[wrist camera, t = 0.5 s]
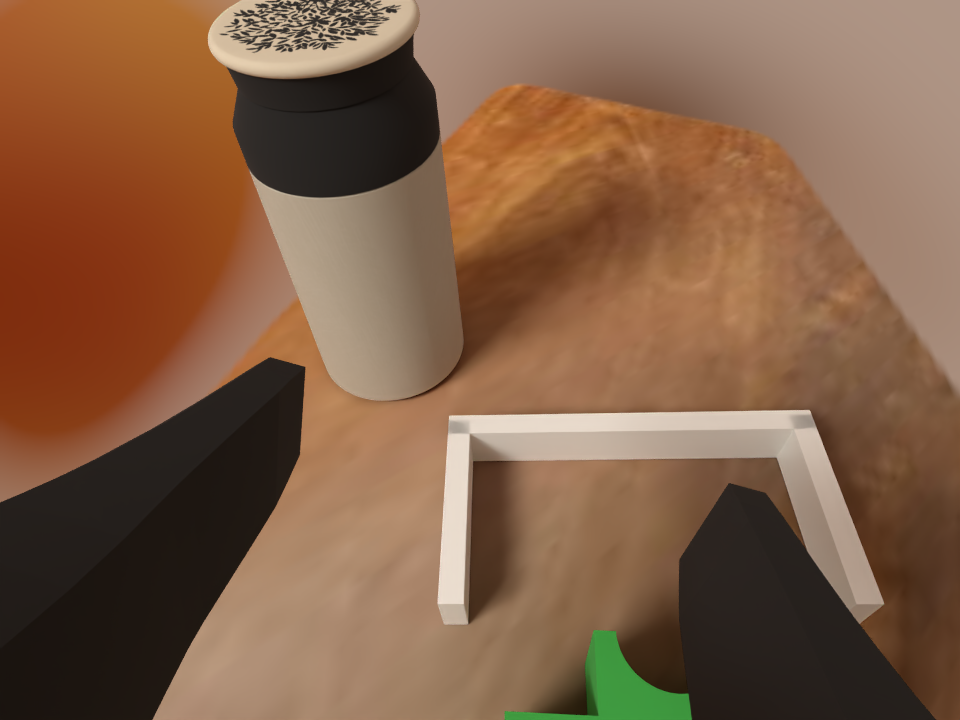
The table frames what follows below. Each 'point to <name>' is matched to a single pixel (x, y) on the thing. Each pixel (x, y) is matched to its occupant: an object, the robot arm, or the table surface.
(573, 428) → the white u-shaped frame
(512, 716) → the pipe clamp
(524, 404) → the table surface
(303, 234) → the travel mug
